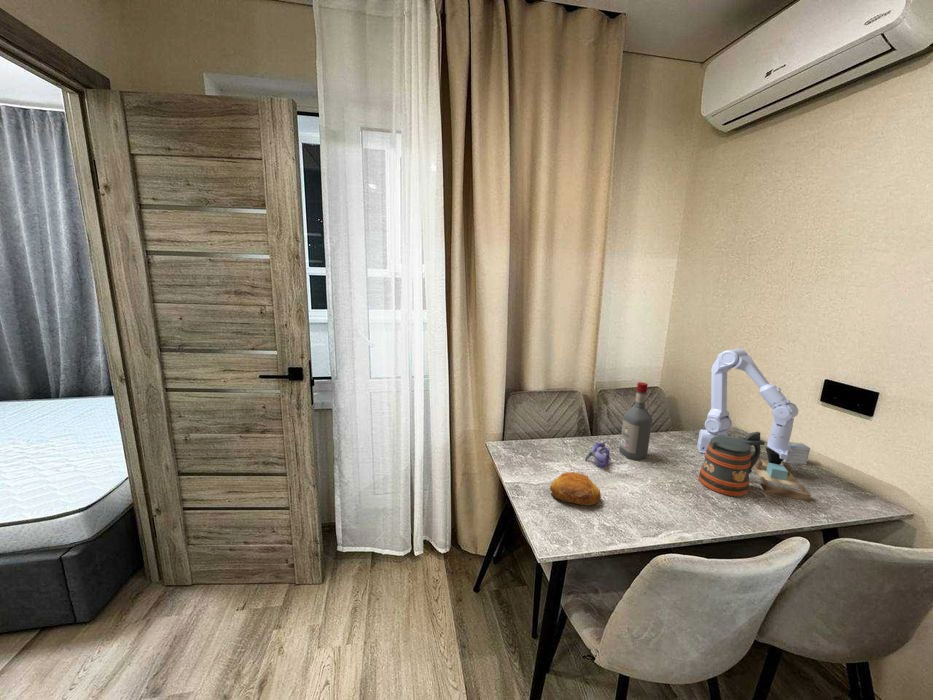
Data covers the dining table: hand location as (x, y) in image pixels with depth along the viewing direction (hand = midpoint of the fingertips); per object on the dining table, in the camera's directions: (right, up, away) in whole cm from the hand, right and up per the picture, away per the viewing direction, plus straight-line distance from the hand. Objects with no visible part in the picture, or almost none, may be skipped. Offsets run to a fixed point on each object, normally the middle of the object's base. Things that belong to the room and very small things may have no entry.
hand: (772, 468), depth 144 cm
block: (-2, -1, -3) cm, 4 cm away
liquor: (-47, +2, +12) cm, 49 cm away
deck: (-1, -3, -2) cm, 4 cm away
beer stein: (-22, -3, -8) cm, 24 cm away
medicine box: (+14, -1, +9) cm, 17 cm away
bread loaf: (-79, -3, -17) cm, 81 cm away
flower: (-64, +1, +4) cm, 64 cm away
